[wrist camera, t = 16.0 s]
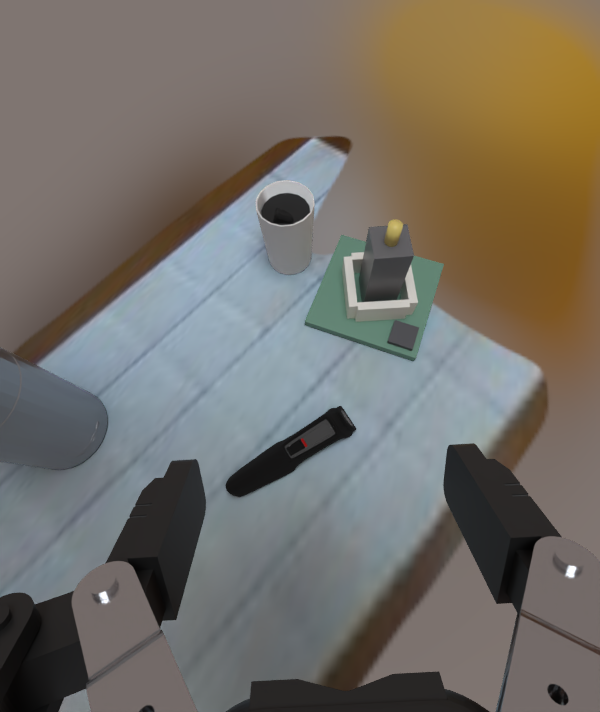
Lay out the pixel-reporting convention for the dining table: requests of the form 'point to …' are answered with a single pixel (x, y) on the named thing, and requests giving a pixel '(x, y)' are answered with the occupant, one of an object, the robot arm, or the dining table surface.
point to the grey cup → (287, 225)
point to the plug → (385, 262)
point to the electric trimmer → (291, 452)
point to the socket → (376, 308)
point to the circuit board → (331, 303)
